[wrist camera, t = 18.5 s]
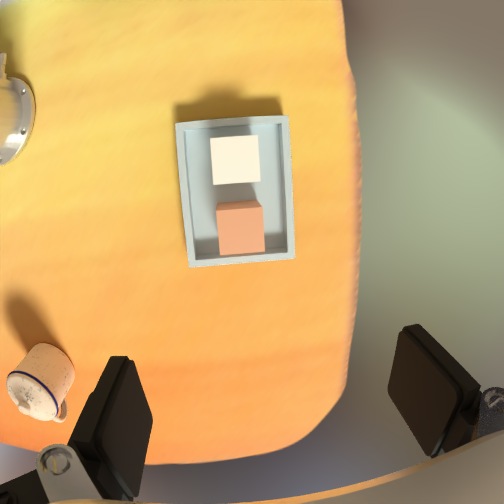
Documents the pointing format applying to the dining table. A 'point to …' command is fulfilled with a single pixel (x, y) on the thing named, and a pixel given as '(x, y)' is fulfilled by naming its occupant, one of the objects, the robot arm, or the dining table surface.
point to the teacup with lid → (42, 383)
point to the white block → (235, 159)
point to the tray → (236, 187)
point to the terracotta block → (240, 227)
